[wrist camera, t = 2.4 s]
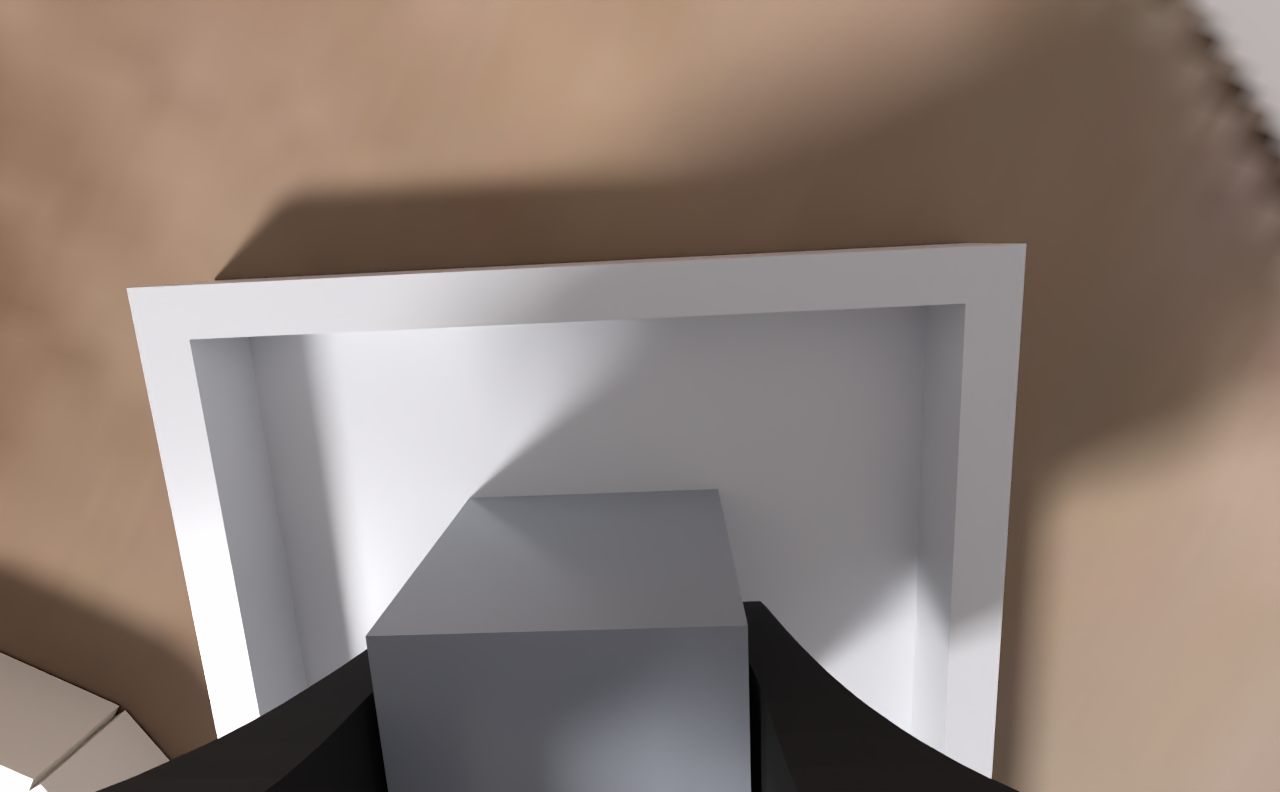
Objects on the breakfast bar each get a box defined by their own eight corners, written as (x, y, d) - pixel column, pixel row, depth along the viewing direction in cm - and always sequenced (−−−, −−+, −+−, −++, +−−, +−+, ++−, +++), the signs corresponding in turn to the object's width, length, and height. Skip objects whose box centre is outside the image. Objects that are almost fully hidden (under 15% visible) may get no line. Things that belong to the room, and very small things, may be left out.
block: (724, 738, 13) (754, 979, 9) (495, 743, 14) (416, 981, 9) (717, 489, 12) (748, 625, 8) (469, 497, 13) (364, 636, 8)
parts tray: (936, 886, 15) (978, 985, 13) (319, 894, 15) (268, 991, 13) (966, 243, 12) (1026, 243, 10) (211, 280, 12) (126, 288, 10)
